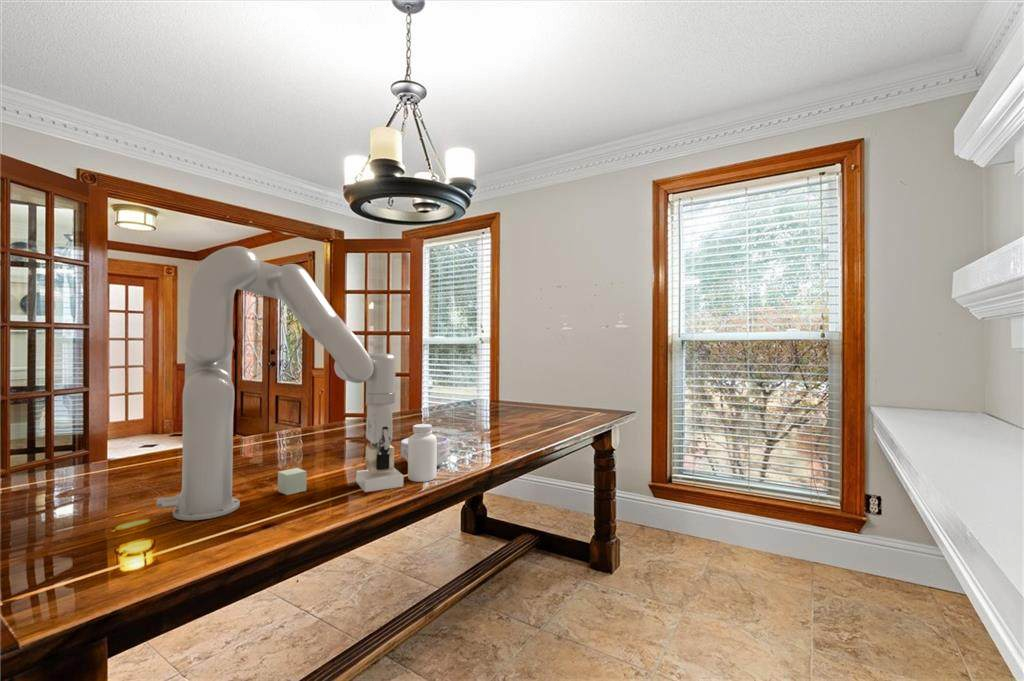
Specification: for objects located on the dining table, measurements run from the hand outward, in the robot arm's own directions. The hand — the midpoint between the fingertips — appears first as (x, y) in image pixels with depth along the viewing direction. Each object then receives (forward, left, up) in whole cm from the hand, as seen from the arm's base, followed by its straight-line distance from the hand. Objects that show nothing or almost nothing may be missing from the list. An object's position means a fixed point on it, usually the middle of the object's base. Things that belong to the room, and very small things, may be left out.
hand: (379, 465), depth 128 cm
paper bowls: (+18, +14, -5) cm, 23 cm away
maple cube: (0, 0, -1) cm, 1 cm away
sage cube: (-21, +5, -5) cm, 22 cm away
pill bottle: (+12, 0, -5) cm, 13 cm away
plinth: (0, 0, -5) cm, 5 cm away
